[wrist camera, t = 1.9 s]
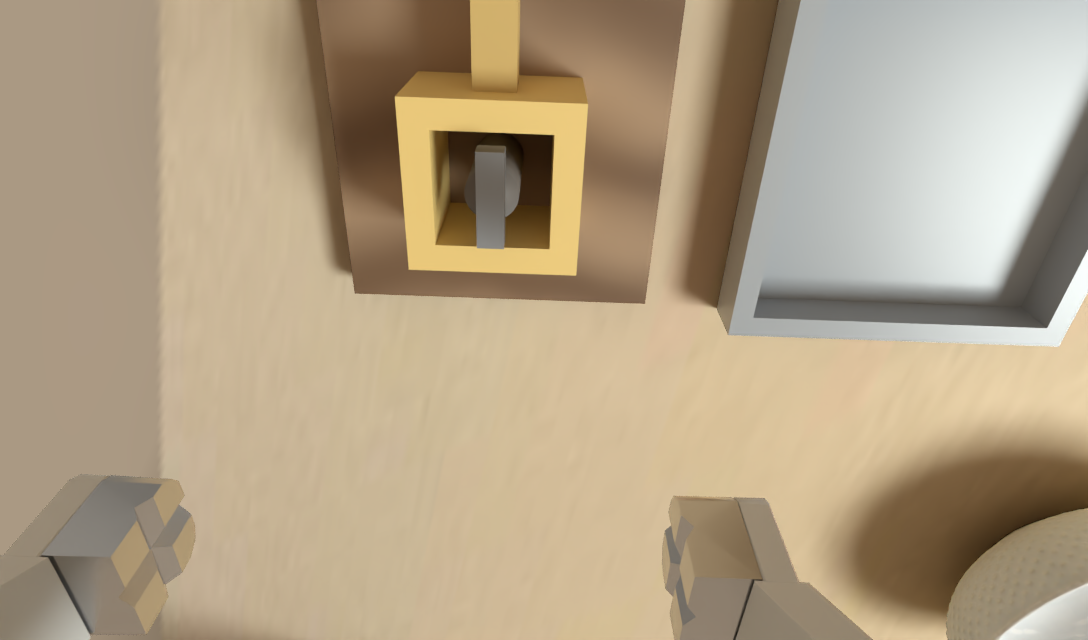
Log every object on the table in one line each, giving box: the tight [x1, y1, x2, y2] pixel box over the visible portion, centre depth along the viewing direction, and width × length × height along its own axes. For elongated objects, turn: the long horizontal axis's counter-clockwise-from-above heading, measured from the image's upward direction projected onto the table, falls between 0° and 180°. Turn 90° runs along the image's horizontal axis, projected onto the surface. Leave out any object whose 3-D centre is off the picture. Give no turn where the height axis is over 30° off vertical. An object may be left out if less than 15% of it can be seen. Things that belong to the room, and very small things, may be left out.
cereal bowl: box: [946, 508, 1088, 640], centre depth 40 cm, size 17×17×7 cm
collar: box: [395, 0, 588, 276], centre depth 25 cm, size 10×7×4 cm
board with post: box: [316, 0, 685, 304], centre depth 26 cm, size 14×14×7 cm
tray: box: [717, 0, 1088, 347], centre depth 28 cm, size 16×16×2 cm
